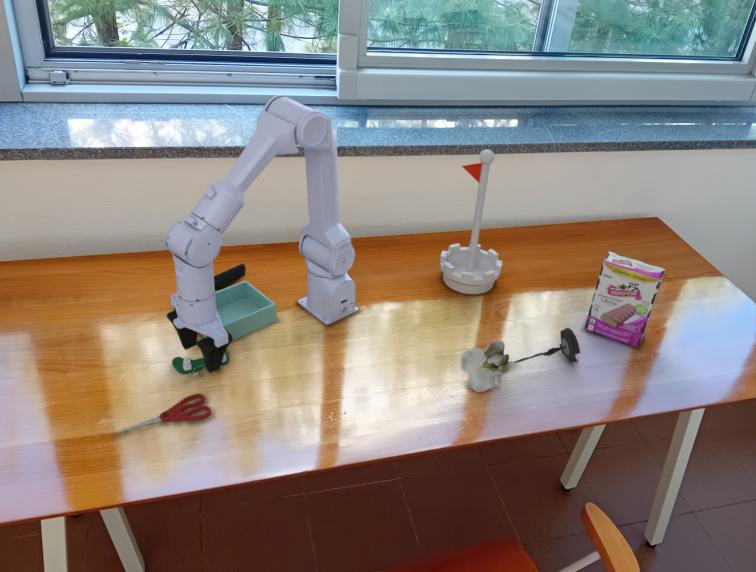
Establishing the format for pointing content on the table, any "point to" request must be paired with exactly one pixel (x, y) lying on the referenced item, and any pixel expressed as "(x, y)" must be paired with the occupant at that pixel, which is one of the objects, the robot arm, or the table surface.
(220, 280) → the electric trimmer
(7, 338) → the table surface
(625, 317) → the candy bar box
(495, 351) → the artificial flower
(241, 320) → the tub
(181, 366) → the gaming controller
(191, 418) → the scissors
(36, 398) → the table surface
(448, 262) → the flag stand
